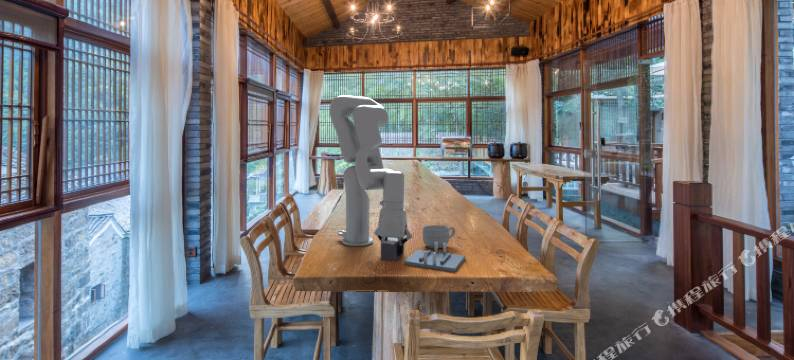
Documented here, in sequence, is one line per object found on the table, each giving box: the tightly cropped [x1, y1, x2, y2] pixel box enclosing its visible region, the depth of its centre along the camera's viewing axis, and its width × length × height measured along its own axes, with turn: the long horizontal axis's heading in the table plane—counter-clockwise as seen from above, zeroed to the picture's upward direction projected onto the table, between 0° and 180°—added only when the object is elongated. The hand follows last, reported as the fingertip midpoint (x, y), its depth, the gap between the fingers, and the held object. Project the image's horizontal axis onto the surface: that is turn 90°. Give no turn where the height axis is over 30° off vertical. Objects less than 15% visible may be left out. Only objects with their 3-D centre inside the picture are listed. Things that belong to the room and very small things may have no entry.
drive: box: [380, 237, 405, 262], centre depth 150 cm, size 5×10×6 cm, turn 158°
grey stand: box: [403, 242, 466, 273], centre depth 145 cm, size 18×15×5 cm
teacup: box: [422, 224, 456, 249], centre depth 164 cm, size 14×11×8 cm
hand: (392, 253), depth 150 cm, fingers closed on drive, 5 cm apart
